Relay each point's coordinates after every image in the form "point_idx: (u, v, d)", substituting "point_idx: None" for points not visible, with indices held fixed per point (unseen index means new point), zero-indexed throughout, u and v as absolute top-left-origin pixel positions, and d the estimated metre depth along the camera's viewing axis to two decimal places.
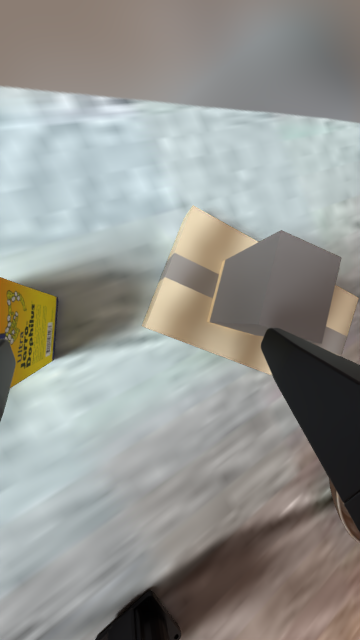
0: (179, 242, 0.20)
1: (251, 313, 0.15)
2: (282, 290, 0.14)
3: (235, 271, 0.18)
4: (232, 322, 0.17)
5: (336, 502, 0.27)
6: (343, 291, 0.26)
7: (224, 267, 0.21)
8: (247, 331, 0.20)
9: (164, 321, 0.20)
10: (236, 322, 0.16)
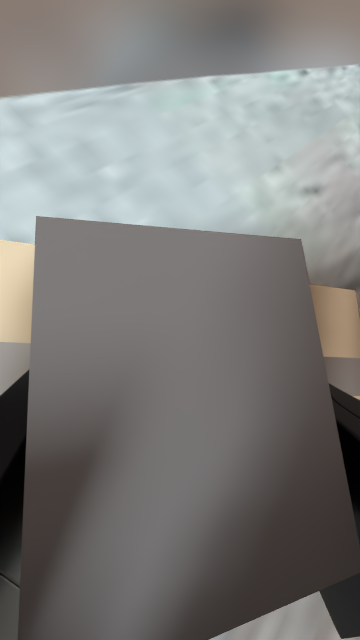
0: None
1: None
2: (116, 450, 0.03)
3: None
4: None
5: None
6: (329, 289, 0.15)
7: None
8: None
9: None
10: None
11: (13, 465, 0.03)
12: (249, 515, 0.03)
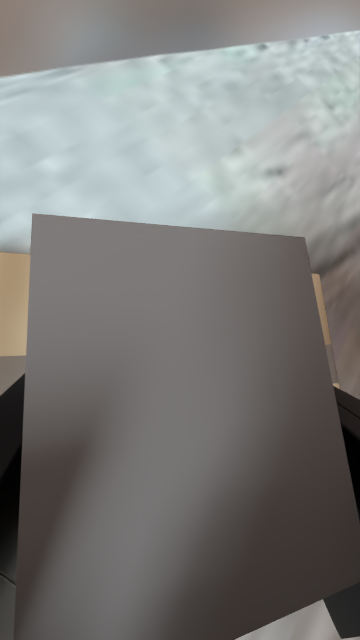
0: None
1: None
2: (116, 456, 0.03)
3: None
4: None
5: None
6: None
7: None
8: None
9: None
10: None
11: (13, 465, 0.03)
12: (252, 521, 0.03)
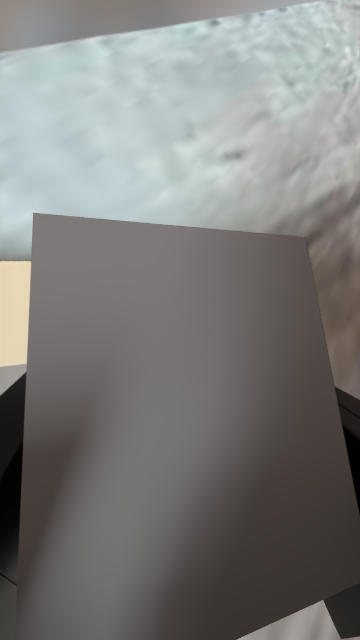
0: None
1: None
2: (116, 455, 0.03)
3: None
4: None
5: None
6: None
7: None
8: None
9: None
10: None
11: (13, 465, 0.03)
12: (253, 521, 0.03)
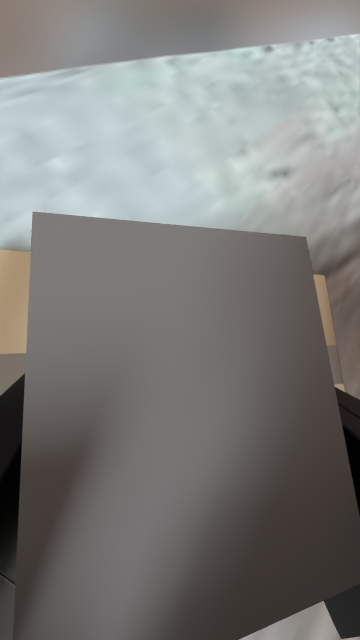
0: None
1: None
2: (117, 455, 0.03)
3: None
4: None
5: None
6: None
7: None
8: None
9: None
10: None
11: (13, 465, 0.03)
12: (253, 522, 0.03)
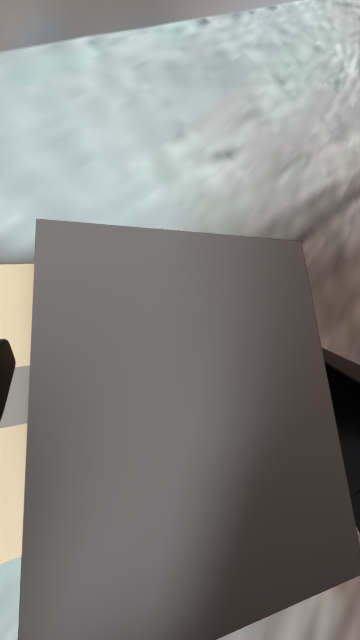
0: None
1: None
2: (117, 453, 0.03)
3: None
4: None
5: None
6: None
7: None
8: None
9: None
10: None
11: None
12: (249, 518, 0.03)
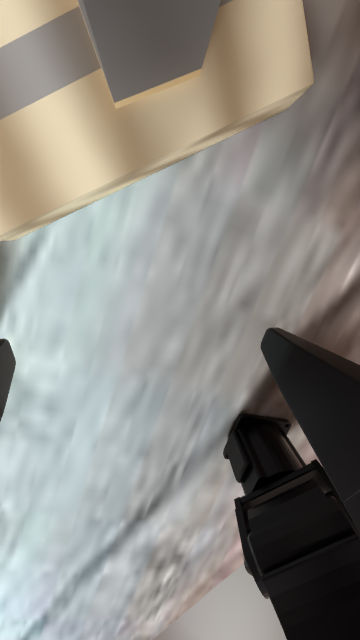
0: None
1: None
2: None
3: None
4: (95, 38, 0.08)
5: None
6: None
7: None
8: (170, 61, 0.11)
9: None
10: (90, 23, 0.08)
11: None
12: None
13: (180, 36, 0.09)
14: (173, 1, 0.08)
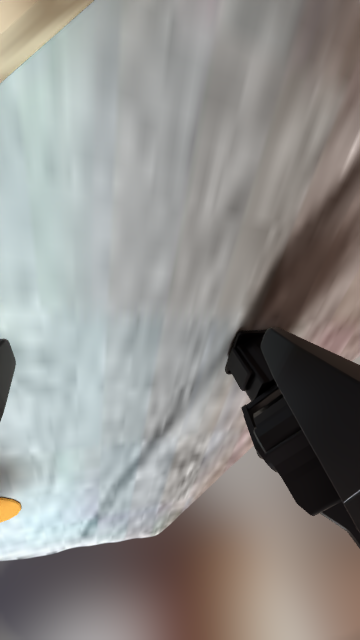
0: None
1: None
2: None
3: None
4: None
5: None
6: None
7: None
8: None
9: None
10: None
11: None
12: None
13: None
14: None
